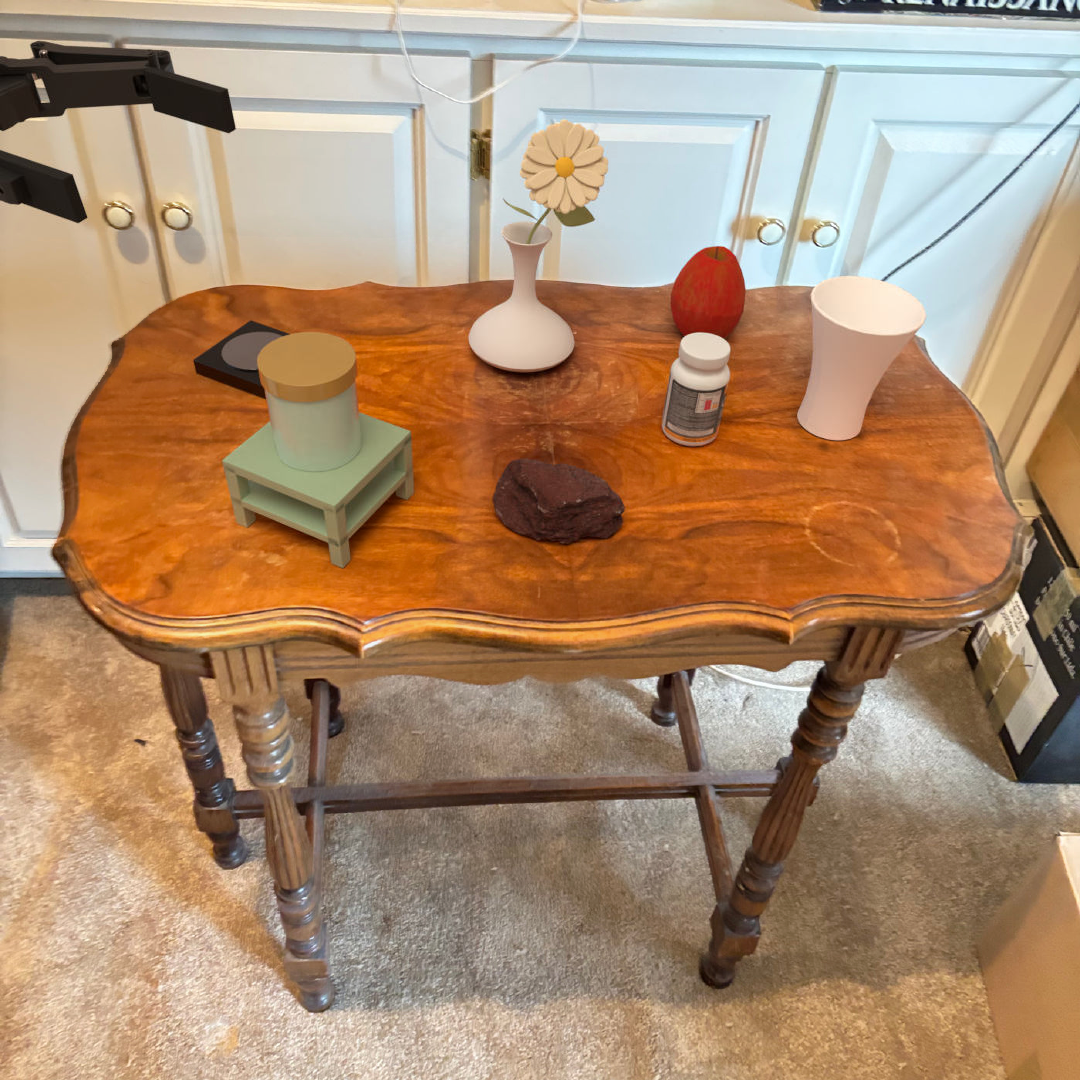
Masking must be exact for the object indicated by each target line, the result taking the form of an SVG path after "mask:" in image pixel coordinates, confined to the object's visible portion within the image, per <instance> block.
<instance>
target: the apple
mask: <svg viewBox="0 0 1080 1080" xmlns="http://www.w3.org/2000/svg"><path fill="white" fill-rule="evenodd" d="M741 267H742V266H741V264H740V263H739V260H738V258H737V256H736V255H735V253H733V252H732V251H731V249H730V248H728V247H726V246H723V245H715V246H707V247H703V248H702V249H700V250H698V251H697V252H696V253H695V254H693V255H692V256H691V258H689V260H687V262H685V264H684V266H683V267H682V268H681V270H680V271H679V273H678V274H677V276H676V278H675V280H674V283H673V287H672V290H671V293H670V309H671V316H672V319H673V321H674V324H675V326H676V328H677V330H679V332H680V333H681V334H682V335H683V336H684V337H685V336H687V335H689V334H692V333H710V334H714V335H717V336H719V337H721V338H723V339H724V340H725V338H727V337H728V336H729V335H730V334H731V333H732V332H733V331H734V329H735V328H736V327H737V326H738V324H739V322H740V320H741V319H742V316H743V314H744V309H745V302H746V295H747V294H746V293H747V288H746V283H745V281H746V280H745V277H744V274H743V270H742V268H741Z"/></svg>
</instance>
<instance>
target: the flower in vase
mask: <svg viewBox="0 0 1080 1080" xmlns="http://www.w3.org/2000/svg"><path fill="white" fill-rule="evenodd" d="M599 143H600V136H599V135H598V134H597V133H595V132H594V130H593V129H587V128H586V127H584V126H583V125H582V124H581V123H575V124H574V123H573V122H571V121H569V120H568V119H564V118H563V119H561V120H560V121H559V122H556V123H553V124H549V125H547V126H546V129H540V130H539V131H538V132H534V133H532V134H531V136H530V140H529V141H528V144H527V148H526V150H525V152H524V153H523V157H522V158H523V160H522V161H521V163H520V167H521V168H520V170H519V176H520V177H521V178H522V179H524V182H523V186H524V188H526V189H527V190H530V191H529V194H528V195H529V199H530V200H531V201H533V202H536V204H538V205H542V206H543V207H544V208H545V209H546V210H545V211H544V212H543V213H542V215H541V216H540V217H539V218H538V219H537V218H536V217H535V216H534V215H533V214H532V213H531V212H529V211H527V210H525V209H523V208H520V207H517V206H515V205H512V204H511V203H509V202H508V201H507V200H506V199H505V198H503V197H502V200H503V201H504V204H506V205H507V206H509V207H510V208H511V209H513V210H515V211H516V212H518V213H519V214H520V213H521V214H522V215H525V216H527V217H529V218H532V219H533V220H536V222H535V221H534V222H533V221H514V222H511V223H508V224H506V225H505V226H503V228H501V237H502V238H503V239H504V240H505V241H506V243H507V245H508V247H509V249H510V254H511V258H512V265H513V287H512V291H511V295H510V297H509V298H508V299H507V300H505V301H504V302H502V303H499V304H498V305H495V306H494V307H492V308H490V309H488V310H487V311H485V312H484V313H483V314H482V315H480V316H479V317H478V318H477V319H476V320H475V321H474V323H473V324H472V327H471V328H470V330H469V333H468V343H469V346H470V347H471V349H472V351H473V352H474V353H475V355H476V356H477V357H478V358H479V359H481V361H483V362H484V363H486V364H488V365H489V366H492V367H494V368H497V369H500V370H503V371H508V372H515V373H533V372H534V373H535V372H541V371H545V370H549V369H552V368H555V367H556V366H558V365H560V364H562V363H563V362H564V361H565V360H566V359H567V358H568V357H570V355H571V353H572V352H573V351H574V349H575V343H576V341H575V337H574V334H573V331H572V328H571V327H570V325H569V324H568V323H567V322H566V321H565V320H564V319H563V318H562V317H561V316H560V314H557V312H555V311H554V310H552V309H551V308H549V307H547V306H546V305H544V304H543V303H541V302H540V301H539V299H538V296H537V292H536V277H537V271H538V264H539V261H540V257H541V254H542V252H543V250H544V248H545V247H546V245H547V244H548V243H549V242H550V241H551V239H552V237H553V232H552V230H551V228H549V227H547V226H546V225H544V224H542V222H543V221H544V219H545V218H546V217H547V216H548V215H549V213H550V212H551V210H553V213H554V215H555V216H556V218H557V219H558V221H559V222H560V223H561V224H562V225H563V226H565V227H569V228H573V227H574V228H575V227H579V226H585V225H587V224H590V223H592V222H594V221H596V219H595V217H594V215H593V214H592V212H591V211H590V210H589V209H588V207H586V205H587V204H589V203H591V202H593V201H596V200H597V199H598V198H599V193H600V190H601V189H600V188H601V187H603V186H604V184H605V178H606V177H605V175H606V174H607V173H608V171H609V159H608V158H607V157H605V156H604V152H605V151H604V150H605V149H604V147H603V146H602V145H601V144H599Z"/></svg>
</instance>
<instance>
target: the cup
mask: <svg viewBox="0 0 1080 1080" xmlns="http://www.w3.org/2000/svg"><path fill="white" fill-rule="evenodd" d="M810 301H811V302H810V304H811V321H812V326H811V327H812V357H811V368H810V374H809V378H808V383H807V386H806V391H805V394H804V396H803V399H802V401H801V404H800V405H799V408H798V410H797V413H796V416H797V417H796V418H797V421H798V423H799V424H800V426H801V427H802V428H803V429H805V430H806V431H807V432H809V433H810V434H812V435H814V436H816V437H818V438H823V439H826V440H831V441H846V440H850V439H853V438H855V437H857V436H858V435H859V434H860V433H861V431H862V427H863V423H864V419H865V415H866V411H867V407H868V405H869V403H870V400H871V399H872V396H873V394H874V392H875V391H876V388H877V387H878V385H879V384H880V381H881V380H882V378H883V376H884V375H885V373H886V372H887V370H888V369H889V367H890V366H891V365H892V363H894V361H895V360H896V358H897V357H898V356H899V355H900V353H901V352H902V351H903V350H904V349H905V347H906V346H907V344H908V343H909V342H911V340H912V339H913V337H914V336H915V335H916V334H917V332H918V331H919V330H920V329H921V328H922V326H923V325H924V324H925V322H926V318H927V314H926V310H925V307H924V305H923V304H922V303H921V302H920V300H919V299H917V297H915V295H913V294H912V293H910V292H908V291H907V290H906V289H903V288H901V287H900V286H898V285H895V284H892V283H890V282H887V281H886V280H885V281H884V280H880V279H876V278H873V277H866V276H858V275H842V276H836V277H835V276H834V277H830V278H827V279H824V280H822V281H820V282H819V283H817V284H816V285H815V286H814V287H813V288H812V290H811V293H810Z"/></svg>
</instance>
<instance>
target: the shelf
mask: <svg viewBox="0 0 1080 1080" xmlns="http://www.w3.org/2000/svg"><path fill="white" fill-rule="evenodd" d="M359 419H360V429H361V440H362V445H361V449H360V451H359V453H358V454H357V456H356V457H355V458H354V459H353V460H351V461H350V462H349V463H347V464H345V465H343V466H341V467H339V468H336V469H333V470H328V471H322V472H307V471H301V470H297V469H294V468H292V467H289V466H288V465H286V464H284V463H283V462H282V461H281V460H280V459H279V457H278V456H277V454H276V450H275V445H274V439H273V434H272V428H271V423H270V420H269V421H268V422H266V424H264V425H263V426H262V427H261V428H259V429H258V430H257V431H256V432H255V433H253V434H252V435H251V436H249V437H248V439H246V440H245V441H244V442H242V443H241V444H240V445H238V446H237V447H236V448H235V449H234V450H233V451H232V452H230V453H228V455H226V456H225V457H224V458H223V459H222V460H221V462H222V468H223V472H224V475H225V480H226V483H227V488H228V492H229V498H230V501H231V505H232V509H233V514H234V518H235V523H236V524H237V525H240V526H242V527H244V528H247V529H248V528H250V526H251V525H252V524H253V523H255V522H256V521H257V516H256V514H259V515H261V516H263V517H266V518H267V519H271V520H273V521H275V522H277V523H280V524H283V525H284V526H287V527H289V528H291V529H294V530H297V531H299V532H301V533H303V534H305V535H308V536H311V537H313V538H316V539H318V540H320V541H323V542H325V543H327V544H328V551H329V556H330V563H331V564H332V565H334V566H336V567H338V568H341V569H344V568H345V567H346V566H347V565H348V564H349V563H350V561H351V560H352V558H351V550H350V542H349V539H350V538H351V537H352V536H353V535H354V534H355V533H356V532H357V531H358V530H359V529H360V528H361V527H362V526H363V525H364V524H365V523H366V522H367V521H368V520H369V519H370V518H371V517H372V516H373V515H374V514H375V513H376V511H378V509H379V508H380V507H381V506H382V505H384V503H385V502H386V501H387V500H388V499H389V498H390V497H391V495H393V494H394V493H395V496H396V497H398V498H401V499H403V500H406V501H408V500H409V499H410V498H411V497H412V496H413V495H414V493H415V481H414V467H413V466H414V464H413V463H414V460H413V445H412V444H413V442H412V441H413V440H412V431H411V430H409V429H406V428H404V427H400V426H398V425H395V424H393V423H390V422H387V421H384V420H381V419H379V418H376V417H374V416H371V415H368V414H366V413H363V412H360V411H359Z"/></svg>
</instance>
